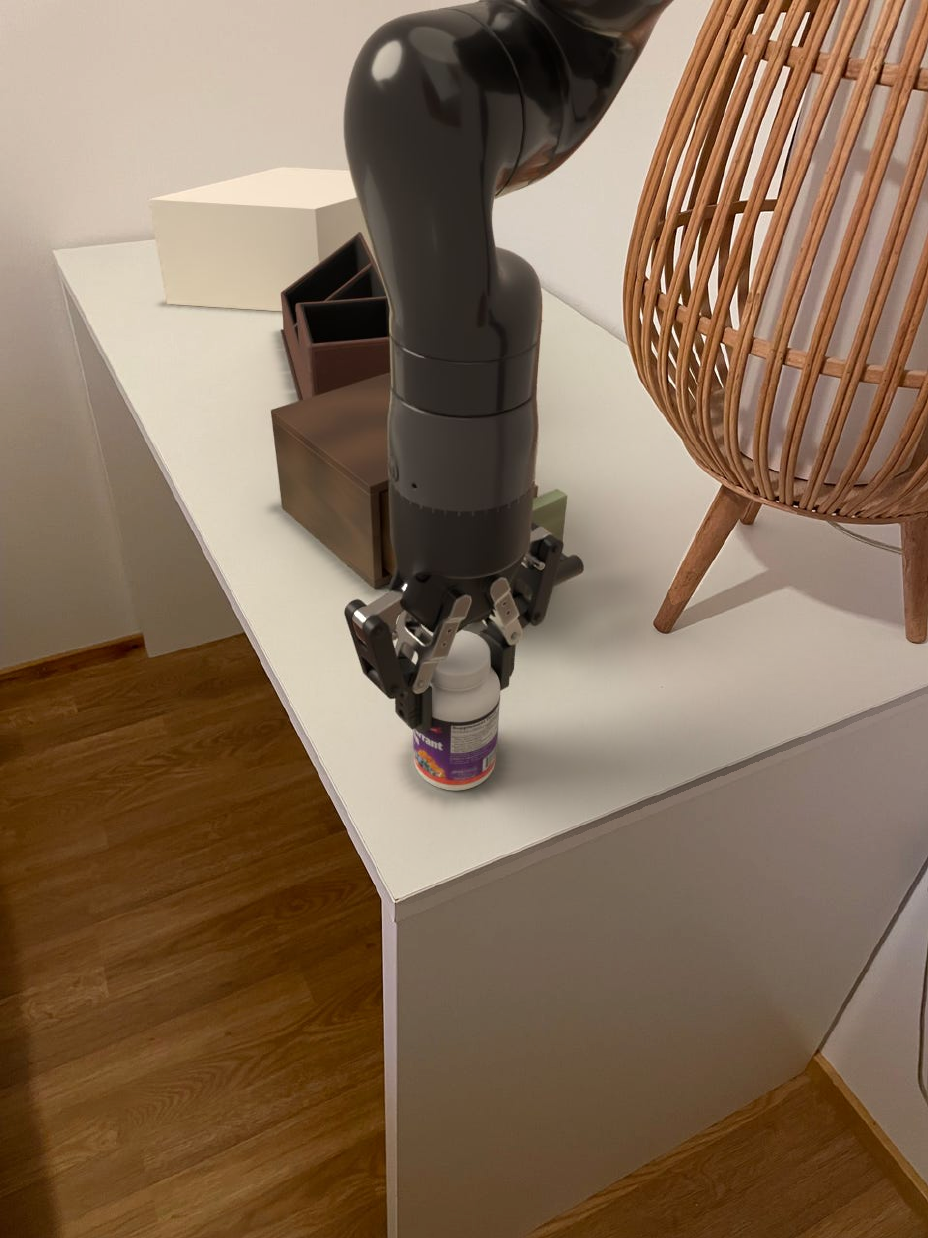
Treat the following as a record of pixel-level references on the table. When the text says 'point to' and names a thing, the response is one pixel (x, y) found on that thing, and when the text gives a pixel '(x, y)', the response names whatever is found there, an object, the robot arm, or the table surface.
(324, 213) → the block
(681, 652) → the table surface
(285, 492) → the cabinet
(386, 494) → the drawer
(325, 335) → the desk organizer
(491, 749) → the pill bottle
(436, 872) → the table surface
